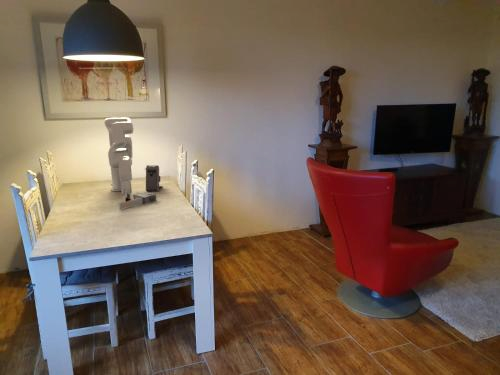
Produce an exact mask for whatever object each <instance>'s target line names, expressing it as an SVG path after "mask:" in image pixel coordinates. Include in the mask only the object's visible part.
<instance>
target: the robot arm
mask: <svg viewBox="0 0 500 375" xmlns="http://www.w3.org/2000/svg"><path fill="white" fill-rule="evenodd" d="M104 125H105V126H104V127H106V130H107V132H108V140H109V146H110V147H109V150H108V151H107V157H108V164H109V167H110V172H111V173H110V174H111V183H110V186H111V188H110V191H112V192H121V196H123V197H124V200H125V201H129V200H132V199H131V198H132V197H131V194H132V189H133V188H132V180H133V173H132V165H133V140H132V137H131V136H129V135H131V134H133V133H134V125H133V122H132V120H131V119H130V117H108V118H105V119H104ZM125 201H124V202H125Z"/></svg>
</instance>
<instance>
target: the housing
mask: <svg viewBox="0 0 500 375" xmlns="http://www.w3.org/2000/svg"><path fill="white" fill-rule="evenodd" d="M132 196H133V199H138V198H141V197H143V200H144V204H143V205H147V204H151V203H153V202H156V201H157V194H156V193H152V192H147V191H142V192H138V193H135V194H133V195H132Z"/></svg>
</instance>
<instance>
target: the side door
mask: <svg viewBox="0 0 500 375" xmlns="http://www.w3.org/2000/svg"><path fill="white" fill-rule="evenodd" d="M139 205H145V204H144V200H143V197H141V198H138V199H134V198H133V199H131V200H129V201H122V202H119V203H118V206H119V210H124V209H127V208H131V207H135V206H139Z"/></svg>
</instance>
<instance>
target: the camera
mask: <svg viewBox="0 0 500 375" xmlns="http://www.w3.org/2000/svg"><path fill="white" fill-rule="evenodd" d="M160 183H161V176H160V166H159V165H158V164H157V165H155V164H154V165H152V164H151V165H146V167H145V192H149V193H152V192H154V193H155V192H157V193H158V192H159V190H160V188H163V186H162V185H161V186H160Z"/></svg>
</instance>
